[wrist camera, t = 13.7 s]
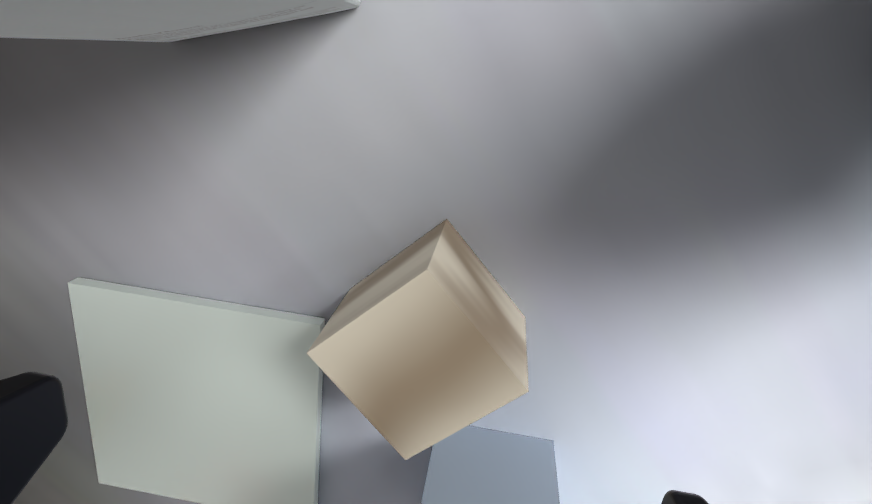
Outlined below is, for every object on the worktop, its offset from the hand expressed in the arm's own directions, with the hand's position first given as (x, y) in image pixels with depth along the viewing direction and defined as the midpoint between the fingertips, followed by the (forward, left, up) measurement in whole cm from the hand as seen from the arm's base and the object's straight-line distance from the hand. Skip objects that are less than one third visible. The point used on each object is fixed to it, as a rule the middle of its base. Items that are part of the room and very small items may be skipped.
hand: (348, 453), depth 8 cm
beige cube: (0, +4, -13) cm, 14 cm away
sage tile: (+10, +11, -13) cm, 20 cm away
